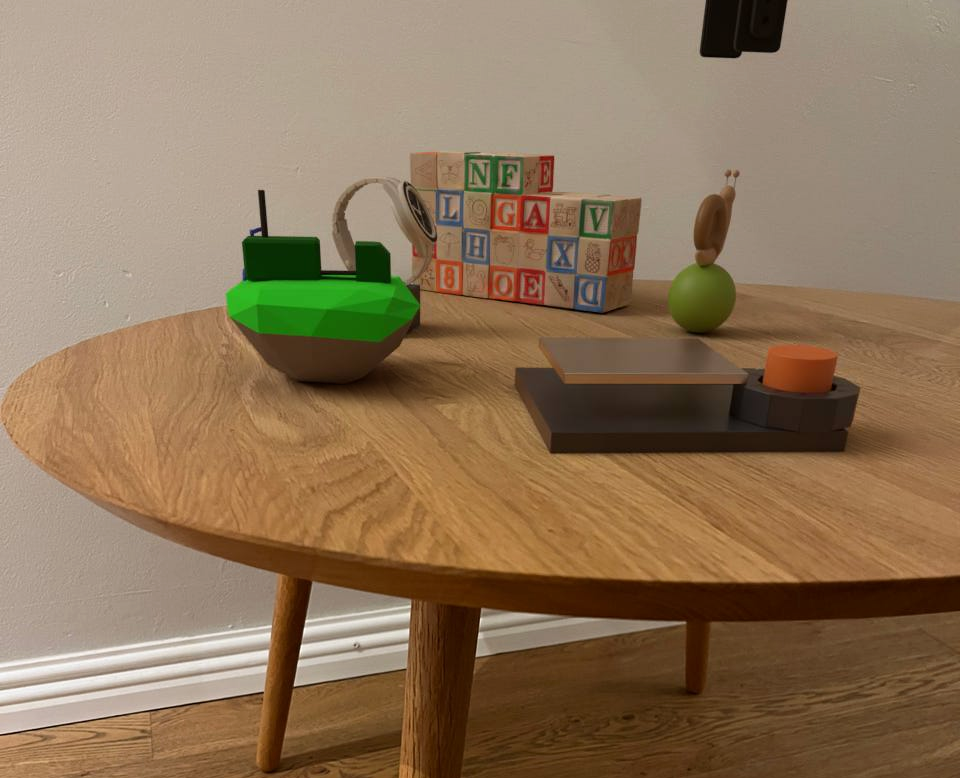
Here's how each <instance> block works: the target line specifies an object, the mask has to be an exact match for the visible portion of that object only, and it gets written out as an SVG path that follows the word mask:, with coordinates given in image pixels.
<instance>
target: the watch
mask: <svg viewBox="0 0 960 778" xmlns="http://www.w3.org/2000/svg"><path fill="white" fill-rule="evenodd" d="M376 183H377V184H381V185H382V188H383V190H384V191H385V192H386V193H387V196H389V201H390V206H391V210H392V213H393V215H394V218H395V221H396V222H397V225H398V227H399V228H400V230H401V231H402V234H403V235H404V236H405V238H406V239H407V240H408V241H409V243H411V245H412V244H413V245H414V246H415V247H416V250H417V254H418V257H419V258H421V261H420V264H419V265H420V266H419V267H418V268H417V269H416V271H415V272H414V275H413V276H412V275H411V276H410V277H409V278H408V279H406V280H403V282H404V284H405V285H406V286H407V288H408V289H409V290H410V292H411V293H412V295H413V296H414V297H415V299H416V300H417V302H418V303H419V304H420V305H421V290H420V285H416V284H413V282H414V281H415V280H417V279H418V278H419V277H420V276H421V275H422V274H423V273H424V272H425V271H426V269H427V268H428V266H429V263H430V262H431V260H432V257H433V254H434V244H436V243H437V232H436V228H435V224H434V222H433V219H432V217H431V214H430V212H429V210H428V208H427V206H426V204H425V203H424V201H423V199H422V198H421V196H420V195H419V193H418V192H417V191H416V189H415V188H414V187H413V186H412V185H411V182H409V181H407V180H402V181H401V180H400V179H397V178H395V177H390V176H375V177H374V176H373V177H367V178H363V179H360V180H357V181H355V182H354V183H352V184H350V185H349V186H348V187H347V188H345V190H344V191H343V192H342V193H341V194H340V195H339V197H338V199H337V201H336V203H335V205H334V208H333V213H332V219H331V222H332V224H331V225H332V230H331V236H332V239H333V243H334V245H335V249H336V250H337V251H336V252H337V253H338V256H339V258H340V260H341V261H342V264H343V265H344V266H345V268H346V271H356V263H355V242H354V239H353V236H352V234H351V231H350V230H349V227H348V220H347V219H346V218H345V217H346V210H347V208H348V205H349V203H350V202H349V201H351V200H352V198H353V197H354V196H355V195H356V192H357V193H358V191H360V190H361V189H362V188H364V187H365V186H367V185H369V184H376ZM419 326H421V307H420V308H419V310H418V311H417V313H416V315H415V317H414V319H413V321H412V323H411V325H410V327H409V329H408V331H407V333H406V335H405V336H407V335H408V334H410V333H411V332H412V331H414V330H415V329H416V328H418V327H419Z"/></svg>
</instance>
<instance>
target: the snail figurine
mask: <svg viewBox="0 0 960 778" xmlns="http://www.w3.org/2000/svg"><path fill="white" fill-rule="evenodd" d="M740 174H741V173H740V171H739V170H738V169H735V170H733V171H732V170H730V169H726V170H725V171H724V176H725V177H726V182H725V185H724V186H723V187H722V188H721V189H720V191H719V193H718V194H717V193H711V194H709V195H708V196H706V197H705V198H704V199H703V200H702V202H701V203H700V205H699V207H698V210H697V213H696V215H695V220H694V226H693V244H694V248H695V250H696V251H695V254H694V259H695V263H693V264H690V265H688V266H686V267H685V268H683V269H682V270H681V271H680V272H678V274H677V275H676V276H675V277H674V279H673V281H672V282H671V284H670V287H669V289H668V294H667V307H668V311H669V313H670V316H671V319H673V321H674V322H675V323H676V324H677V325H678V326H679V327H680V328H682V329H683V330H686V331H688V332H691V333H698V334H701V333H708V332H712V331H713V330H716V329H717V328H719V327H721V326H722V325H723V324H724V323H725V322H726V321H727V320H728V319H729V317H730V316H731V314H732V312H733V310H734V308H735V305H736V301H737V290H736V285H735V282H734V279H733V277H732V276H731V274H730V273H729V272H728V271H727V270H726V269H725V268H724V267H722V266H721V265H719V264H717V263H715V262H716V260H717V258H719V256H720V255H721V254H722V251H723V249H724V246H725V242H726V239H727V236H728V232H729V228H730V224H731V219H732V213H733V205H734V201H735V199H736V189H735V188H736V181H737V178H738V177H739V176H740ZM731 176H732V177H733V178H734V183H733V186H732V185H729V184H728V181H729V178H730V177H731Z"/></svg>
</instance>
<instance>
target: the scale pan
mask: <svg viewBox="0 0 960 778" xmlns="http://www.w3.org/2000/svg"><path fill="white" fill-rule="evenodd" d="M538 348H539V350H540V351H541V352H542V354H543V356H544V357H545V359H546V360H547V361H548V362H549V364H550V365H551V368H554V370H555V371H556V372H557V374H558V375H559V377H560V378H561V379H562V381H563V382H564V384H687V385H746V384H747V381H748V375H749V374H748V373H747V372H745V371H744V370H742V369H741V367H740V366H739V365H737V364H735V363H733V362H732V361H731V360H730V359H728V358H727V357H725V356H724V355H722V354H721V353H719V352H718V351H717V350H715V349H714V348H712V347H711V346H709V344H706V343H705V342H703V340H701V339H699V338H697V337H695V338H693V337H691V338H690V337H689V338H687V337H686V338H685V337H558V336H557V337H549V336H548V337H539V338H538Z"/></svg>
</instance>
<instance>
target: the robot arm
mask: <svg viewBox="0 0 960 778" xmlns="http://www.w3.org/2000/svg"><path fill="white" fill-rule="evenodd" d="M788 1H789V0H705V4H704V12H703V20H702V26H701V29H702V30H701V35H700V37H701V38H700V45H699V55H700V56H701V57H702V58H711V59H712V58H713V59H738V58H740V57H741V56H742V54H743V53H758V54H759V53H762V54H763V53H765V54H774V53H777V52H778V51H780V49H781V47H782V39H783V32H784V26H785V20H786V13H787V6H788Z"/></svg>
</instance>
